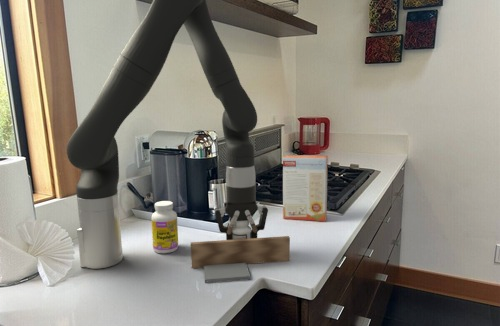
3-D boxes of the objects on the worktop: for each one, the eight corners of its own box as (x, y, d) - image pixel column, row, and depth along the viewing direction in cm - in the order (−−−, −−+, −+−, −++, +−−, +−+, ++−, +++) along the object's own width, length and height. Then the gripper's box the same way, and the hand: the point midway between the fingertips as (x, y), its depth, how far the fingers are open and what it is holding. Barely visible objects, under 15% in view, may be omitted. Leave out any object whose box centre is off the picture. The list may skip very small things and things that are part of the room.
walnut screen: (191, 268, 90) (190, 244, 89) (191, 265, 91) (190, 242, 90) (289, 260, 93) (289, 237, 92) (288, 258, 94) (288, 236, 93)
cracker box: (326, 216, 127) (328, 155, 123) (325, 222, 121) (326, 158, 117) (285, 213, 130) (285, 154, 127) (282, 219, 125) (282, 156, 121)
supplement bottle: (153, 255, 97) (150, 207, 95) (152, 246, 103) (149, 201, 101) (179, 252, 99) (177, 205, 97) (177, 243, 105) (175, 198, 103)
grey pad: (204, 283, 82) (204, 279, 82) (204, 268, 89) (204, 265, 89) (250, 279, 84) (250, 276, 84) (246, 265, 91) (246, 262, 91)
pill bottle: (240, 246, 103) (240, 214, 101) (255, 250, 99) (255, 218, 98) (227, 252, 99) (226, 219, 97) (242, 257, 95) (242, 224, 94)
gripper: (213, 187, 91) (215, 253, 94) (271, 184, 93) (271, 249, 96) (211, 180, 98) (213, 242, 101) (265, 178, 100) (266, 238, 103)
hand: (241, 245), depth 99 cm, fingers closed on pill bottle, 5 cm apart
